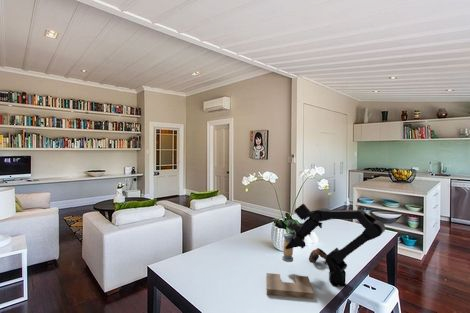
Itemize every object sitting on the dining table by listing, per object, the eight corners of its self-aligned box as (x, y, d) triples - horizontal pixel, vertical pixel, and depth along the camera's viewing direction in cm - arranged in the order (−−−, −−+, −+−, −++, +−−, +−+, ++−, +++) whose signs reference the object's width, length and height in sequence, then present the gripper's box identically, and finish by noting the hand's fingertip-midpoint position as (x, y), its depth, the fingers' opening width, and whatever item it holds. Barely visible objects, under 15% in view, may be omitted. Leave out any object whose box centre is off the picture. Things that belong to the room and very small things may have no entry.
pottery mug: (310, 256, 149) (318, 245, 148) (323, 268, 143) (331, 257, 142) (303, 258, 139) (311, 246, 138) (317, 271, 134) (326, 259, 133)
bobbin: (292, 257, 132) (293, 233, 132) (293, 262, 127) (294, 237, 126) (281, 256, 133) (282, 232, 132) (282, 261, 127) (283, 236, 127)
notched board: (308, 281, 120) (308, 276, 120) (313, 298, 106) (313, 293, 106) (266, 278, 122) (266, 273, 122) (266, 294, 108) (266, 289, 108)
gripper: (294, 211, 138) (274, 229, 139) (299, 220, 119) (275, 241, 121) (308, 225, 137) (287, 244, 139) (315, 237, 118) (291, 258, 120)
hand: (285, 246), depth 130 cm, fingers closed on bobbin, 5 cm apart
